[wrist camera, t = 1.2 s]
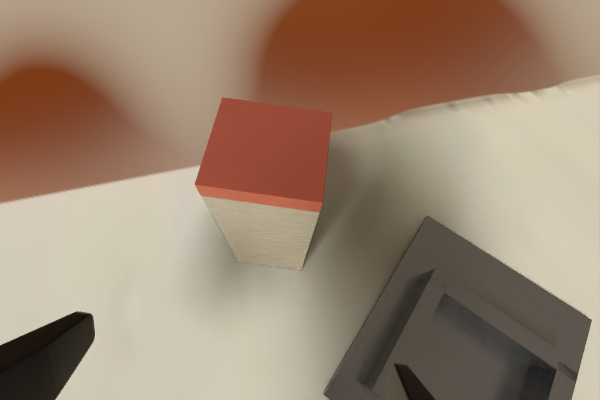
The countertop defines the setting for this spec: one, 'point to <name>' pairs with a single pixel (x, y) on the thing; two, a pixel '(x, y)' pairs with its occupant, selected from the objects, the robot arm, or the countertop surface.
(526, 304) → the plate
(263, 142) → the block
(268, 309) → the countertop surface
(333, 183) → the countertop surface
